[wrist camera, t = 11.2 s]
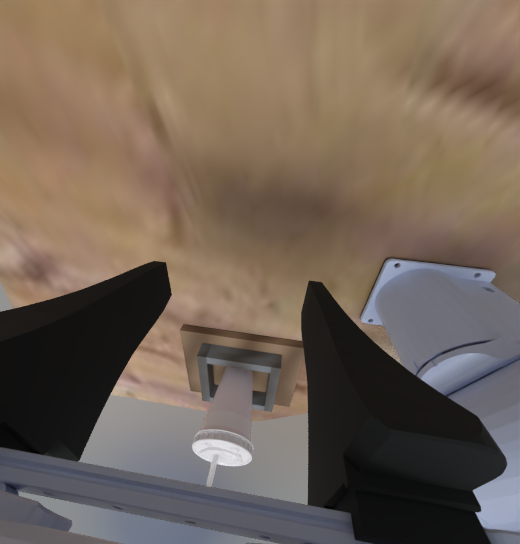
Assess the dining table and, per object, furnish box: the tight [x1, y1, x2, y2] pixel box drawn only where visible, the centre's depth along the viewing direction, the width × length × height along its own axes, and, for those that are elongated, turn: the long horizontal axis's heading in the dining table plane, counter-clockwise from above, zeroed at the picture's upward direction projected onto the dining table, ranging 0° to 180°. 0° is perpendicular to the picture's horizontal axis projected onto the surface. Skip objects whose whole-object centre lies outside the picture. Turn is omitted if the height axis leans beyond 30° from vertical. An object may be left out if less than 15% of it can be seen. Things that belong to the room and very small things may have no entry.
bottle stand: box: [180, 325, 304, 412], centre depth 30 cm, size 16×14×3 cm
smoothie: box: [192, 367, 254, 487], centre depth 24 cm, size 6×6×14 cm
